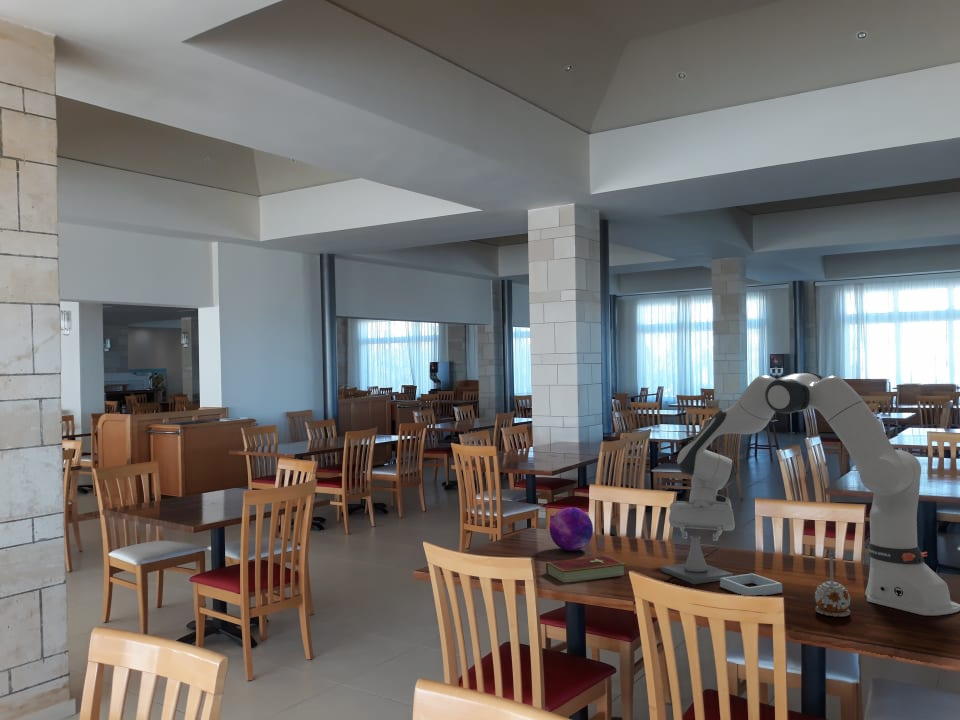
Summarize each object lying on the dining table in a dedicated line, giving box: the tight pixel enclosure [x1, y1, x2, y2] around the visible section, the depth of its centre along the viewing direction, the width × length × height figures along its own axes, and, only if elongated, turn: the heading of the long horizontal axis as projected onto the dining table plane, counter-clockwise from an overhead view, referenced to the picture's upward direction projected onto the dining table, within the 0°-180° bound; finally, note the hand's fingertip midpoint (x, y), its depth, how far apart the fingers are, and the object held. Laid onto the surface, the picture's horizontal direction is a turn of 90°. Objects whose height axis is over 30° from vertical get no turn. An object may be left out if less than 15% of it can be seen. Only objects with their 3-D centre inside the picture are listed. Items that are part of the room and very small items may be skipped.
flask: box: [684, 535, 708, 572], centre depth 227 cm, size 7×7×10 cm
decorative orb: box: [549, 506, 594, 552], centre depth 262 cm, size 15×15×15 cm
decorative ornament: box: [814, 553, 851, 618], centre depth 189 cm, size 8×8×15 cm
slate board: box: [660, 562, 734, 585], centre depth 227 cm, size 16×14×2 cm
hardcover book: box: [545, 555, 626, 583], centre depth 230 cm, size 12×21×4 cm, turn 110°
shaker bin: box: [719, 573, 783, 596], centre depth 211 cm, size 12×12×2 cm
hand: (699, 538), depth 237 cm, fingers open, 8 cm apart
